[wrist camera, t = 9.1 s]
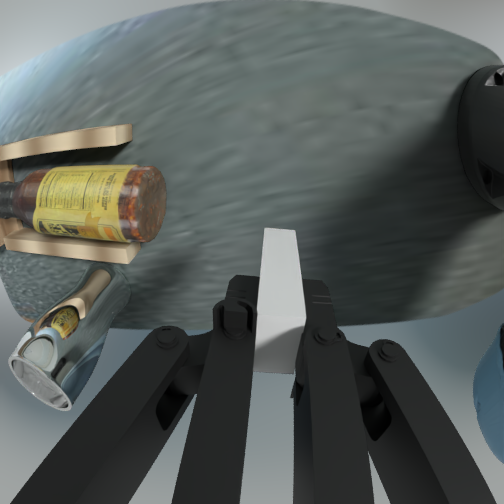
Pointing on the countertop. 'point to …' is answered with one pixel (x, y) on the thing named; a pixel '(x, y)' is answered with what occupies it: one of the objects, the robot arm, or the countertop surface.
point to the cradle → (57, 244)
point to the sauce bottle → (89, 202)
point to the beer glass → (70, 337)
